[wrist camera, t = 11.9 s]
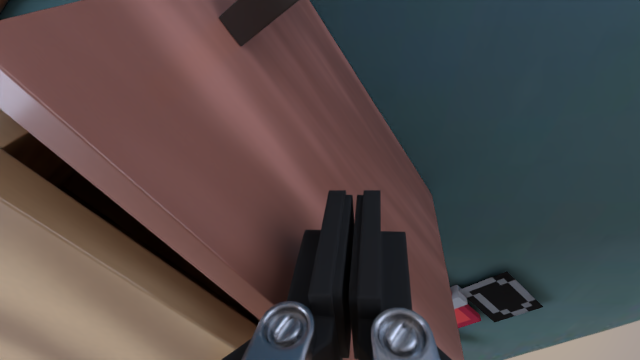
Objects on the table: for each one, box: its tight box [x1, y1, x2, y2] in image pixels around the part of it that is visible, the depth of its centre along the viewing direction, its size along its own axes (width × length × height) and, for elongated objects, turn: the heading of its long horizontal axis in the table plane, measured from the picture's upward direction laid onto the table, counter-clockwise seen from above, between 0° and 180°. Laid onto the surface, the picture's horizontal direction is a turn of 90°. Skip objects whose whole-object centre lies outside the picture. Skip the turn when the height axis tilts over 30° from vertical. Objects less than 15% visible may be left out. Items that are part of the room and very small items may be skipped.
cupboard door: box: [0, 0, 464, 360], centre depth 20 cm, size 6×26×24 cm, turn 35°
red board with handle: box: [450, 272, 543, 328], centre depth 49 cm, size 30×3×15 cm
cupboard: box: [0, 109, 260, 360], centre depth 27 cm, size 18×26×24 cm
